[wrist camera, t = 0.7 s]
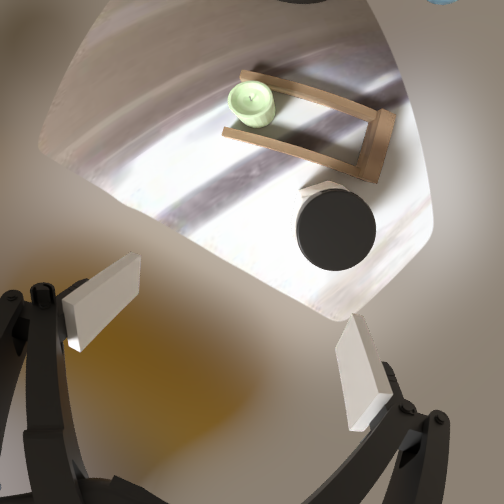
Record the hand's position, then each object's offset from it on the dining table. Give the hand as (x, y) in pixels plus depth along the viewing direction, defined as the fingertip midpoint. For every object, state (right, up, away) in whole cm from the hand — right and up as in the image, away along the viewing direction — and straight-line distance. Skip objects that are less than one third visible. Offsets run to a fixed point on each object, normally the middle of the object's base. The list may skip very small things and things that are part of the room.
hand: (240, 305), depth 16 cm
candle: (+1, +22, +18) cm, 29 cm away
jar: (+10, +9, +22) cm, 25 cm away
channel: (+8, +20, +18) cm, 28 cm away
